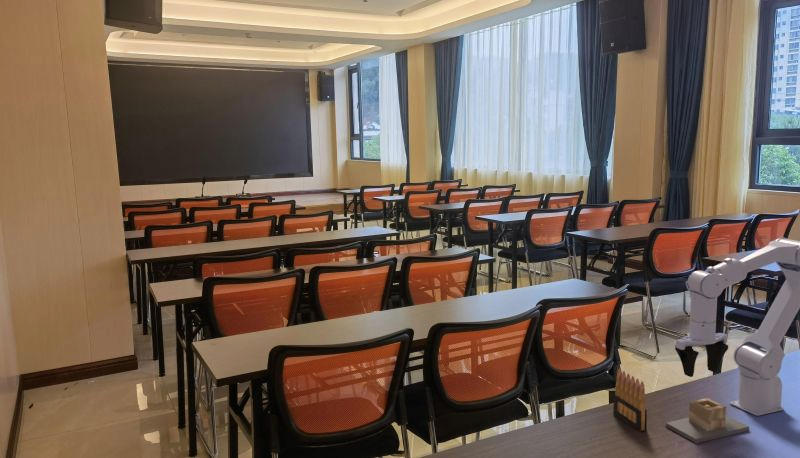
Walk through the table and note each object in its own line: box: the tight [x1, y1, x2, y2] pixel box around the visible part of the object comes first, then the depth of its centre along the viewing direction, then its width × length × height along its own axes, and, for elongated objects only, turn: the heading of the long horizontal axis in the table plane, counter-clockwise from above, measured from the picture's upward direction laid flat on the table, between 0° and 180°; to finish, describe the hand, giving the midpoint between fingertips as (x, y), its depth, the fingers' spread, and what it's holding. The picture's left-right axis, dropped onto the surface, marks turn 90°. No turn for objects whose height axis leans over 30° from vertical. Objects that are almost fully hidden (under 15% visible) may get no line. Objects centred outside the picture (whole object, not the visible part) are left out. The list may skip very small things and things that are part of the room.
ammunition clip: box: [612, 368, 648, 432], centre depth 145 cm, size 11×2×12 cm, turn 15°
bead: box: [688, 397, 727, 431], centre depth 141 cm, size 5×5×5 cm
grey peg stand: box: [665, 405, 750, 444], centre depth 141 cm, size 16×9×6 cm, turn 110°
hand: (700, 373), depth 148 cm, fingers open, 7 cm apart
